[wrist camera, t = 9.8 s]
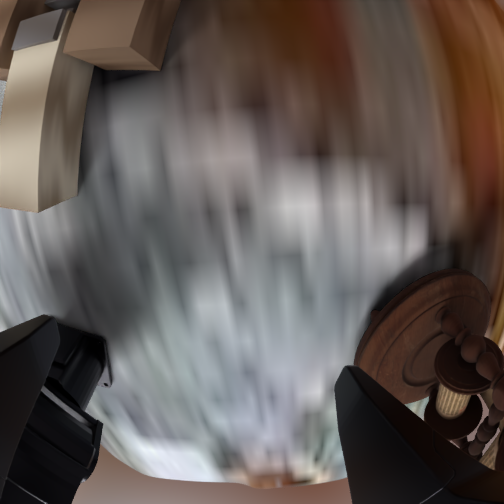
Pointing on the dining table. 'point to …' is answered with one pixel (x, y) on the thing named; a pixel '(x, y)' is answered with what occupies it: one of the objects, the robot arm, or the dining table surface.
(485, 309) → the brown wooden stand
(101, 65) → the square dumbbell
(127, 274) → the dining table surface
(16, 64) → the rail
